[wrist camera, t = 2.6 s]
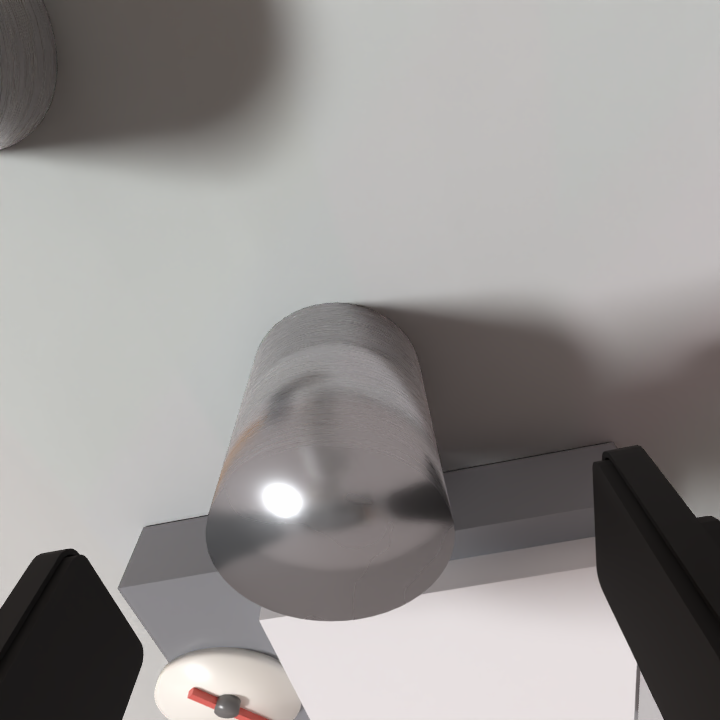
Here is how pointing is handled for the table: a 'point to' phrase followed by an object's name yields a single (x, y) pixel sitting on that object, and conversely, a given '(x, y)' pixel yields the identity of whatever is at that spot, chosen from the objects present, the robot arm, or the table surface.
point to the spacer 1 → (25, 68)
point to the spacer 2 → (332, 472)
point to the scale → (409, 620)
